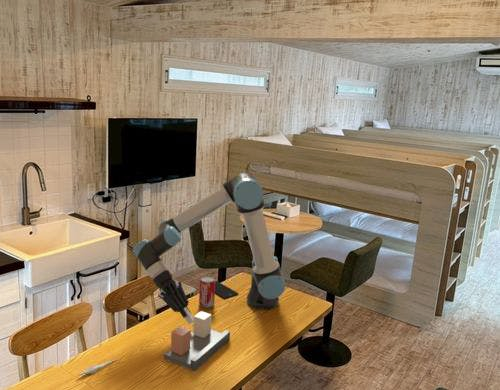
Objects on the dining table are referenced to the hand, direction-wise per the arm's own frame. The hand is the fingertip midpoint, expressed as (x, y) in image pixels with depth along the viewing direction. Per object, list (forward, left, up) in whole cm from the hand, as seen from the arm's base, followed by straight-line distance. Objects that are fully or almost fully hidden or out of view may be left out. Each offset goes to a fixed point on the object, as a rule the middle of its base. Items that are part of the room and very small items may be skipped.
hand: (192, 322), depth 183 cm
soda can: (-17, -21, -6) cm, 27 cm away
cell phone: (-30, -32, -6) cm, 44 cm away
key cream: (-3, +4, -3) cm, 6 cm away
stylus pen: (+38, +5, -6) cm, 39 cm away
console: (+2, +10, -6) cm, 12 cm away
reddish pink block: (+10, +11, -3) cm, 15 cm away
